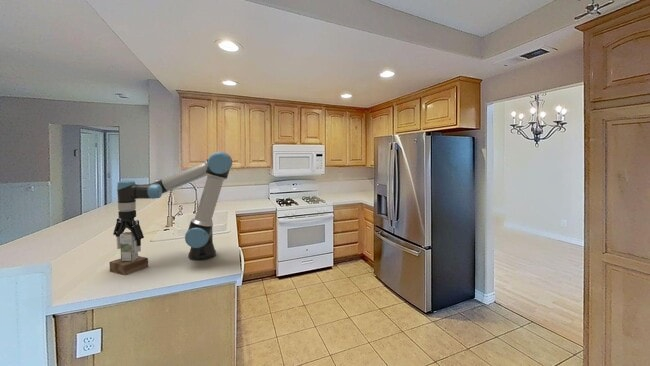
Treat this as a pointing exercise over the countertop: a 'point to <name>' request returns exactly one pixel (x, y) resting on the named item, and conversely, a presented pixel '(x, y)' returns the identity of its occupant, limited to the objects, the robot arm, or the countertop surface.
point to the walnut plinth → (128, 265)
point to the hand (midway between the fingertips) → (128, 250)
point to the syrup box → (127, 247)
